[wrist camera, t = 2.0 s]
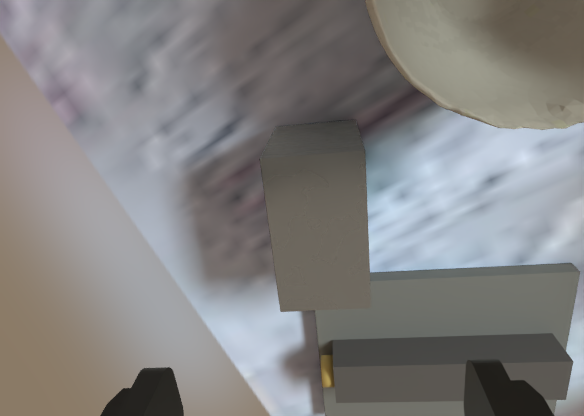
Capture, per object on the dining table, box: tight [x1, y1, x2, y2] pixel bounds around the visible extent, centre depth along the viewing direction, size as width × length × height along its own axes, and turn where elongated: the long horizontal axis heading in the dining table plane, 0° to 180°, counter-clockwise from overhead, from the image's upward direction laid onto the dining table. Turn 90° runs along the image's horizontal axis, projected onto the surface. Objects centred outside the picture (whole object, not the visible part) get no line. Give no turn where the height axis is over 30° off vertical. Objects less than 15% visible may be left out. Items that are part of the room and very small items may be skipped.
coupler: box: [315, 263, 580, 416], centre depth 28 cm, size 12×16×4 cm
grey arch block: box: [260, 120, 371, 312], centre depth 23 cm, size 8×4×6 cm, turn 6°
